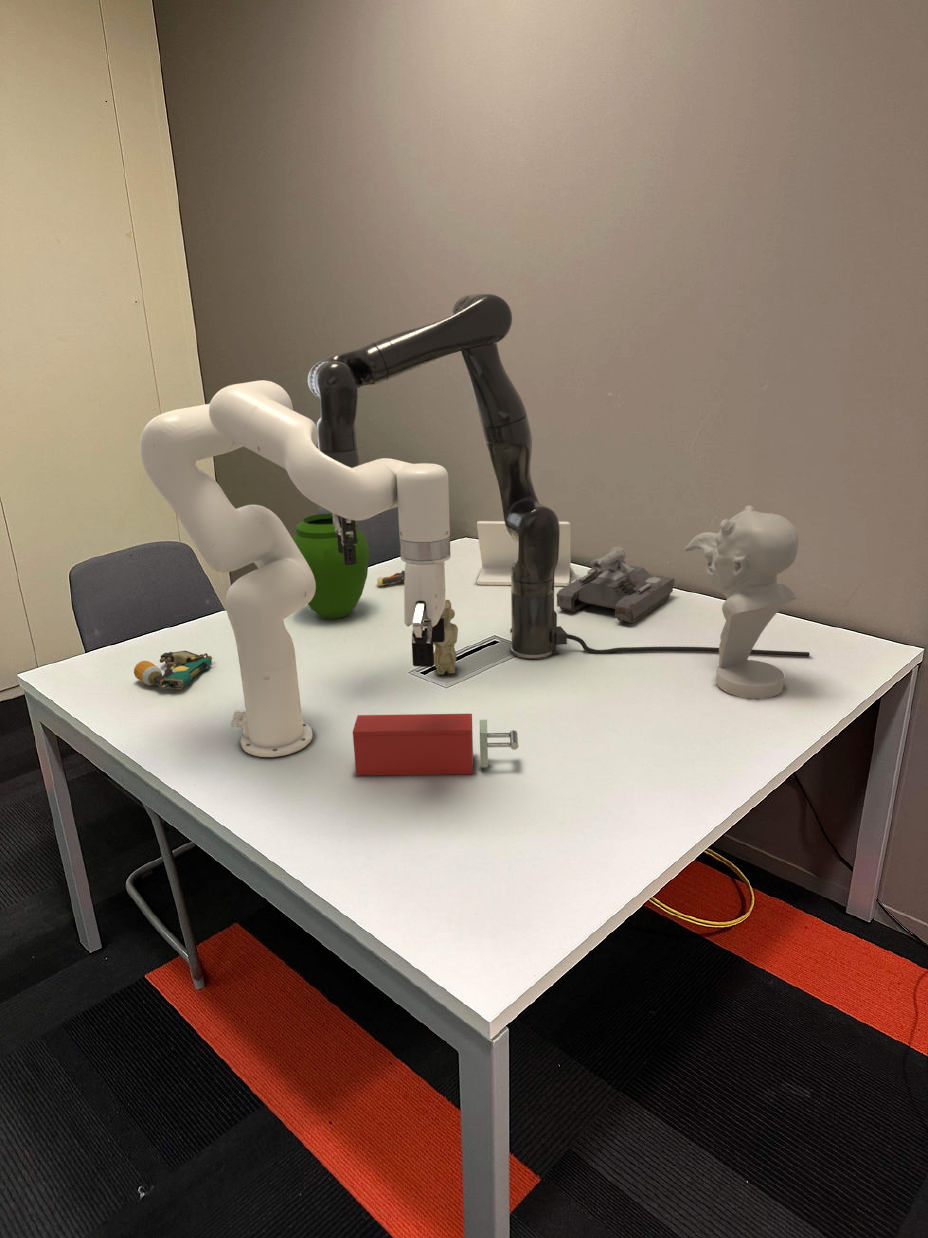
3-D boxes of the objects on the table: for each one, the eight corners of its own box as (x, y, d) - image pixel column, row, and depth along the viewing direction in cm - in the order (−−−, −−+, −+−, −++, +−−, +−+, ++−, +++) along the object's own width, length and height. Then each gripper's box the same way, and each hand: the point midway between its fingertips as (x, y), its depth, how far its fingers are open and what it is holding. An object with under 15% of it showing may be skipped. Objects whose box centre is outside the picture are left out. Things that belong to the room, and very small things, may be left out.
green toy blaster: (177, 659, 191) (231, 671, 185) (120, 684, 176) (176, 698, 171) (176, 641, 190) (230, 653, 184) (118, 665, 175) (174, 678, 169)
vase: (389, 608, 216) (383, 514, 208) (339, 633, 201) (330, 533, 192) (330, 596, 226) (322, 506, 218) (278, 619, 211) (267, 523, 202)
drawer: (517, 752, 145) (517, 719, 143) (518, 767, 140) (518, 732, 138) (381, 754, 146) (378, 721, 143) (377, 768, 141) (375, 734, 139)
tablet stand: (569, 585, 229) (570, 524, 223) (476, 584, 232) (475, 523, 226) (570, 566, 246) (571, 508, 240) (484, 564, 249) (483, 507, 243)
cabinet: (473, 756, 146) (471, 713, 143) (472, 774, 140) (471, 730, 138) (360, 757, 146) (357, 715, 144) (356, 775, 141) (352, 731, 138)
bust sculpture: (717, 648, 186) (730, 489, 174) (806, 688, 166) (828, 512, 154) (660, 663, 179) (669, 500, 167) (745, 707, 159) (763, 525, 147)
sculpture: (458, 662, 183) (456, 596, 178) (460, 676, 176) (457, 608, 171) (431, 663, 183) (428, 597, 177) (431, 677, 176) (428, 609, 171)
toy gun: (374, 578, 232) (409, 575, 230) (392, 563, 250) (425, 560, 247) (376, 588, 232) (411, 585, 230) (394, 572, 250) (427, 569, 248)
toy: (603, 584, 229) (605, 530, 224) (673, 597, 218) (677, 540, 213) (555, 612, 210) (556, 553, 205) (630, 627, 199) (633, 566, 194)
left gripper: (412, 532, 136) (416, 632, 142) (387, 564, 120) (393, 675, 126) (458, 533, 135) (461, 633, 141) (440, 565, 119) (443, 677, 125)
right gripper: (366, 479, 151) (373, 566, 157) (354, 465, 164) (360, 546, 170) (324, 482, 150) (332, 571, 155) (315, 468, 163) (323, 550, 168)
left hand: (429, 653), depth 134 cm, fingers open, 9 cm apart
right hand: (347, 558), depth 163 cm, fingers open, 8 cm apart
